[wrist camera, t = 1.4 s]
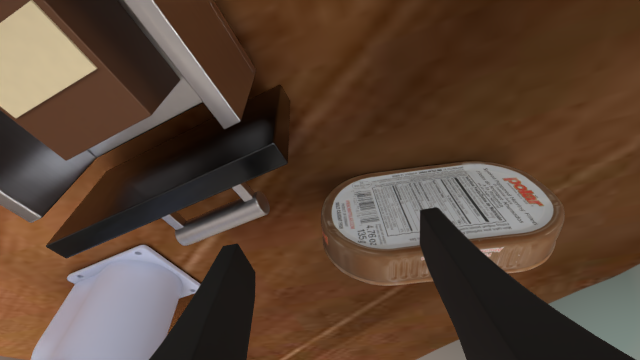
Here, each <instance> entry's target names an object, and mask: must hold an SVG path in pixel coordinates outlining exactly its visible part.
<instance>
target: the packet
mask: <svg viewBox="0 0 640 360" xmlns="http://www.w3.org/2000/svg"><path fill="white" fill-rule="evenodd" d="M179 81H180V78H179V77H178V76H177V74H176V73H175V72H174V71H173V69H172V68H171V67H170V66H169V64H168V63H167V62H166V61H165V59H164V58H163V57H162V56H161V54H160V53H159V52H158V51H157V49H156V48H155V47H154V46H153V44H152V43H151V42H150V41H149V39H148V38H147V37H146V35H145V34H144V33H143V32H142V30H141V29H140V28H139V27H138V25H137V24H136V23H135V22H134V20H133V19H132V18H131V17H130V15H129V14H128V13H127V12H126V10H125V9H124V8H123V7H122V5H121V4H120V3H119V1H118V0H0V110H1V111H2V112H3V113H5V114H6V115H7V116H8V117H10V118H11V119H12V120H14V121H15V122H16V123H17V124H19V125H20V126H21V127H23V128H24V129H25V130H27V131H28V132H29V133H30V134H32V135H33V136H34V137H36V138H37V139H38V140H39V141H41V142H42V143H43V144H45V145H46V146H47V147H48V148H50V149H51V150H52V151H54V152H55V153H56V154H57V155H59V156H60V157H61V158H63V159H64V160H65V161H67V160H69V159H71V158H73V157H75V156H77V155H79V154H80V153H82V152H84V151H86V150H88V149H90V148H92V147H94V146H95V145H97V144H99V143H101V142H103V141H105V140H107V139H109V138H110V137H112V136H114V135H116V134H118V133H120V132H122V131H123V130H125V129H127V128H129V127H131V126H133V125H135V124H137V123H138V122H140V121H142V120H144V119H146V118H148V117H150V116H151V115H152V114H153V113H154V112H155V111H156V109H157V108H158V107H159V106H160V104H161V103H162V102H163V101H164V100H165V98H166V97H167V96H168V95H169V93H170V92H171V91H172V90H173V89H174V87H175V86H176V85H177V84H178V83H179Z"/></svg>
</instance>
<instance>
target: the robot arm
mask: <svg viewBox="0 0 640 360" xmlns="http://www.w3.org/2000/svg"><path fill="white" fill-rule="evenodd" d="M420 246H421V249H422V253H423V256H424V259H425V262H426V265H427V268H428V270H429V272H430V274H431V277H432V279H433V281H434V283H435V285H436V288H437V290H438V292H439V294H440V296H441V299H442V301H443V303H444V305H445V307H446V309H447V312H448V314H449V316H450V318H451V320H452V322H453V325H454V327H455V329H456V332H457V334H458V337H459V340H460V342H461V345H462V348H463V351H464V353H465V356H466V359H467V360H635V359H634V358H632V357H630V356H629V355H627V354H625V353H623V352H622V351H620V350H618V349H617V348H615V347H614V346H612V345H610V344H608V343H607V342H605V341H603V340H602V339H600V338H599V337H597V336H595V335H594V334H592V333H591V332H589V331H588V330H586V329H584V328H583V327H581V326H580V325H578V324H577V323H575V322H574V321H572V320H571V319H569V318H567V317H566V316H565V315H563V314H561V313H560V312H558V311H557V310H555V309H554V308H552V307H551V306H550V305H548V304H547V303H546V302H544V301H543V300H541V299H540V298H539V297H537V296H536V295H534V294H533V293H532V292H530V291H529V290H528V289H526V288H525V287H524V286H522V285H521V284H520V283H519V282H517V281H516V280H515V279H513V278H512V277H511V276H510V275H509V274H507V273H506V272H505V271H504V270H503V269H501V268H500V267H499V266H498V265H497V264H495V263H494V262H493V261H492V260H491V259H490V258H489V257H487V256H486V255H485V254H484V253H483V252H482V251H481V250H480V249H479V248H478V247H476V246H475V245H474V244H473V243H472V242H471V241H470V240H469V239H468V238H467V237H466V236H465V235H464V234H463V233H462V232H461V231H460V230H459V229H458V228H457V227H456V226H455V225H454V224H453V223H452V222H451V221H450V220H449V219H448V218H447V217H446V216H445V214H444V213H443V212H442V211H441V210H440V209H439V208H437V207H433V208H428V209H423V210H420ZM67 280H68V281H70V282H72V283H74V284H75V285H74V287H73V288H72V290H71V291H70V293H69V295H68V296H67V298H66V299H65V301H64V302H63V304H62V305H61V307H60V309H59V310H58V312H57V313H56V315H55V316H54V318H53V319H52V321H51V323H50V324H49V326H48V327H47V329H46V330H45V332H44V333H43V335H42V337H41V338H40V340H39V341H38V343H37V345H36V347H35V348H34V351H33V353H32V357H31V360H246V359H247V351H248V344H249V337H250V330H251V323H252V316H253V308H254V301H255V271H254V269H253V268H252V266H251V264H250V263H249V261H248V260H247V258H246V256H245V255H244V253H243V251H242V250H241V248H240V246H239V245H238V244H233V245H227V246H223V247H222V249H221V251H220V252H219V254H218V256H217V257H216V259H215V261H214V263H213V264H212V266H211V268H210V270H209V271H208V273H207V275H206V276H205V278H204V280H203V281H202V283H201V284H200V283H198V282H197V281H196V280H194V279H193V278H192V277H190V276H189V275H187V274H186V273H185V272H183V271H182V270H180V269H179V268H178V267H176V266H175V265H173V264H172V263H171V262H169V261H168V260H167V259H165V258H164V257H162V256H161V255H160V254H158V253H157V252H155V251H154V250H153V249H151V248H150V247H148V246H147V245H139V246H137V247H135V248H132V249H130V250H127V251H125V252H122V253H120V254H117V255H115V256H113V257H110V258H108V259H105V260H103V261H100V262H98V263H96V264H93V265H91V266H88V267H86V268H83V269H81V270H79V271H76V272H74V273H71V274H69V275H68V277H67ZM194 293H195V295H194V296H193V298H192V299H191V301H190V303H189V304H188V306H187V307H186V309H185V310H184V312H183V313H182V315H181V316H180V318H179V319H178V321H177V322H176V324H175V325H174V327H173V328H172V330H171V331H170V332H169V334H168V335H167V333H168V330H169V327H170V324H171V321H172V318H173V315H174V312H175V309H176V306H177V303H178V300H179V298H182V297H185V296H188V295H191V294H194Z"/></svg>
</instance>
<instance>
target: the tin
mask: <svg viewBox="0 0 640 360" xmlns="http://www.w3.org/2000/svg"><path fill="white" fill-rule="evenodd" d="M433 207H437V208H439V209H440V210H441V211H442V212H443V213H444V214H445V216H446V217H447V218H448V219H449V220H450V221H451V222H452V223H453V224H454V225H455V226H456V227H457V228H458V229H459V230H460V231H461V232H462V233H463V234H464V235H465V236H466V237H467V238H468V239H469V240H470V241H471V242H472V243H473V244H474V245H475V246H476V247H478V248H479V249H480V250H481V251H482V252H483V253H484V254H485V255H486V256H487V257H489V258H490V259H491V260H492V261H493V262H494V263H495V264H497V265H498V266H499V267H500V268H501V269H503V270H504V271H505V272H506V273H515V272H523V271H526V270H530V269H533V268H535V267H537V266H539V265H540V264H542V263H544V262H545V261H546V260H547V259H548V258H549V257H550V255H551V254H552V252H553V250H554V247H555V241H556V239H557V237H558V235H559V233H560V231H561V228H562V226H563V222H564V215H565V214H564V207H563V205H562V203H561V202H560V201H559V199H558V198H557V197H556V196H555V195H554V194H553V193H552V192H551V191H550V190H549V189H548V188H547V187H546V186H544V185H543V184H542V183H540V182H539V181H537V180H536V179H535V178H533V177H532V176H531V175H529V174H527V173H526V172H523V171H521V170H519V169H516V168H513V167H509V166H506V165H502V164H497V163H490V162H481V161H467V162H457V163H449V164H441V165H433V166H425V167H416V168H409V169H401V170H392V171H384V172H376V173H369V174H364V175H360V176H356V177H353V178H351V179H349V180H346V181H344V182H342V183H341V184H339V185H338V186H337V187H336V188H334V189H333V190H332V191H331V192H330V194H329V195H328V196H327V198H326V200H325V202H324V205H323V208H322V213H321V224H322V231H323V246H324V249H325V251H326V254H327V256H328V257H329V259H330V260H331V261H332V262H333V264H334V265H335V266H336V267H337V268H338V269H339V270H341V271H342V272H343V273H345V274H347V275H348V276H350V277H352V278H354V279H357V280H359V281H362V282H365V283H370V284H374V285H385V286H390V285H403V284H411V283H420V282H430V281H433V279H432V277H431V274H430V272H429V270H428V268H427V265H426V262H425V259H424V256H423V253H422V249H421V246H420V210H423V209H428V208H433Z"/></svg>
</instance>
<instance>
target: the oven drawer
mask: <svg viewBox="0 0 640 360" xmlns="http://www.w3.org/2000/svg"><path fill="white" fill-rule="evenodd" d="M118 1H119V3H120V4H121V5H122V7H123V8H124V9H125V10H126V12H127V13H128V14H129V15H130V17H131V18H132V19H133V20H134V22H135V23H136V24H137V25H138V27H139V28H140V29H141V30H142V32H143V33H144V34H145V35H146V37H147V38H148V39H149V41H150V42H151V43H152V44H153V46H154V47H155V48H156V49H157V51H158V52H159V53H160V54H161V56H162V57H163V58H164V59H165V61H166V62H167V63H168V64H169V66H170V67H171V68H172V69H173V71H174V72H175V73H176V74H177V76H178V77H179V78H180V81H179V83H178V84H177V85H176V86H175V87H174V89H173V90H172V91H171V92H170V93H169V95H168V96H167V97H166V98H165V100H164V101H163V102H162V103H161V104H160V106H159V107H158V108H157V109H156V111H155V112H154V113H153V114H152V115H151V116H150V117H148V118H146V119H144V120H142V121H140V122H138V123H137V124H135V125H133V126H131V127H129V128H127V129H125V130H123V131H122V132H120V133H118V134H116V135H114V136H112V137H110V138H109V139H107V140H105V141H103V142H101V143H99V144H97V145H95V146H94V147H92V148H90V149H88V150H86V151H84V152H82V153H80V154H79V155H77V156H75V157H73V158H71V159H69V160H67V161H65V160H64V159H63V158H61V157H60V156H59V155H57V154H56V153H55V152H54V151H52V150H51V149H50V148H48V147H47V146H46V145H45V144H43V143H42V142H41V141H39V140H38V139H37V138H36V137H34V136H33V135H32V134H30V133H29V132H28V131H27V130H25V129H24V128H23V127H21V126H20V125H19V124H17V123H16V122H15V121H14V120H12V119H11V118H10V117H8V116H7V115H6V114H5V113H3V112H2V111H1V110H0V205H2V206H3V207H5V208H7V209H8V210H10V211H12V212H13V213H15V214H17V215H18V216H20V217H22V218H23V219H25V220H27V221H28V222H31V223H32V222H34V221H36V220H38V219H40V218H42V217H43V216H44V215H45V214H46V213H47V212H48V211H49V210H50V208H51V207H52V206H53V205H54V204H55V203H56V202H57V201H58V200H59V199H60V197H61V196H62V195H63V194H64V193H65V192H66V191H67V190H68V189H69V188H70V187H71V185H72V184H73V183H74V182H75V181H76V180H77V179H78V178H79V177H80V176H81V174H82V173H83V172H84V171H85V170H86V169H87V168H88V167H89V166H90V165H91V163H92V162H93V161H94V160H95V159H96V158H97V157H99V156H101V155H103V154H105V153H107V152H109V151H111V150H112V149H114V148H116V147H118V146H120V145H122V144H124V143H126V142H128V141H130V140H132V139H134V138H136V137H137V136H139V135H141V134H143V133H145V132H147V131H149V130H151V129H153V128H155V127H157V126H159V125H160V124H162V123H164V122H166V121H168V120H170V119H172V118H174V117H176V116H178V115H180V114H182V113H184V112H185V111H187V110H189V109H191V108H193V107H195V106H197V105H199V104H201V103H204V104H205V105H206V106H207V108H208V109H209V110H210V112H211V113H212V114H213V115H214V118H212V119H210V120H208V121H206V122H204V123H202V124H200V125H198V126H196V127H194V128H192V129H190V130H188V131H186V132H184V133H182V134H180V135H178V136H176V137H174V138H172V139H170V140H168V141H166V142H164V143H162V144H160V145H158V146H156V147H154V148H152V149H150V150H148V151H146V152H144V153H142V154H140V155H138V156H136V157H134V158H132V159H130V160H128V161H126V162H124V163H122V164H120V165H118V166H116V167H114V168H112V169H110V170H108V171H106V173H105V174H104V175H103V176H102V178H101V179H100V180H99V181H98V182H97V184H96V185H95V186H94V187H93V189H92V190H91V191H90V192H89V194H88V195H87V196H86V197H85V198H84V200H83V201H82V202H81V203H80V205H79V206H78V207H77V208H76V209H75V211H74V212H73V213H72V214H71V216H70V217H69V218H68V219H67V220H66V222H65V223H64V224H63V225H62V227H61V228H60V229H59V230H58V231H57V233H56V234H55V235H54V236H53V238H52V239H51V240H50V241H49V242H48V244H47V245H46V247H47V248H49V249H51V250H52V251H54V252H56V253H58V254H59V255H61V256H63V257H65V258H69V257H71V256H74V255H76V254H78V253H81V252H83V251H85V250H88V249H90V248H92V247H95V246H97V245H99V244H102V243H104V242H106V241H109V240H111V239H113V238H116V237H118V236H120V235H123V234H125V233H127V232H130V231H132V230H134V229H137V228H139V227H141V226H144V225H146V224H148V223H151V222H153V221H155V220H158V219H160V218H162V219H163V220H165V221H166V222H167V223H168V224H170V225H171V226H172V227H173V228H174V229H175V236H176V238H177V240H178V242H179V243H180V244H182V245H185V246H188V245H190V244H193V243H196V242H198V241H201V240H203V239H206V238H208V237H211V236H213V235H216V234H219V233H221V232H224V231H226V230H229V229H231V228H234V227H236V226H239V225H242V224H244V223H247V222H249V221H252V220H254V219H257V218H259V217H262V216H265V215H267V214H268V213H269V211H270V207H269V202H268V200H267V198H266V196H265V195H264V194H263V193H262V192H261V191H257V192H255V193H254V191H253V190H252V189H251V188H250V187H249V186H248V184H247V183H246V181H248V180H251V179H253V178H255V177H258V176H260V175H262V174H265V173H267V172H269V171H272V170H274V169H276V168H279V167H281V166H283V165H286V164H287V163H288V145H289V121H290V100H289V98H288V96H287V94H286V93H285V91H284V89H283V87H282V86H281V85H278V86H276V87H274V88H272V89H270V90H268V91H266V92H264V93H262V94H260V95H258V96H256V97H254V98H252V99H250V100H248V101H247V99H248V96H249V93H250V90H251V86H252V83H253V80H254V77H255V73H256V69H255V67H254V65H253V64H252V62H251V61H250V59H249V57H248V56H247V54H246V52H245V51H244V49H243V47H242V46H241V44H240V43H239V41H238V39H237V38H236V36H235V34H234V33H233V31H232V29H231V28H230V26H229V25H228V23H227V21H226V20H225V18H224V16H223V15H222V13H221V11H220V10H219V8H218V6H217V5H216V3H215V2H214V0H118ZM230 188H232V189H233V190H234V191H235V192H236V193H237V194H238V195H239V196H240V197H241V198H240V199H238V200H235V201H233V202H231V203H228V204H226V205H223V206H221V207H219V208H216V209H214V210H211V211H209V212H207V213H204V214H202V215H199V216H197V217H195V218H192V219H190V220H187V221H186V220H185V219H184V218H183V217H182V216H181V215H180V214H179V213H177V212H176V211H178V210H181V209H183V208H185V207H188V206H190V205H192V204H195V203H197V202H199V201H202V200H204V199H206V198H209V197H211V196H213V195H216V194H218V193H220V192H223V191H225V190H227V189H230Z"/></svg>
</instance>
